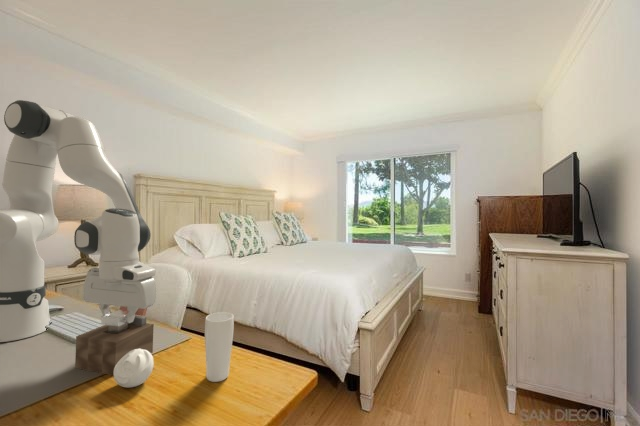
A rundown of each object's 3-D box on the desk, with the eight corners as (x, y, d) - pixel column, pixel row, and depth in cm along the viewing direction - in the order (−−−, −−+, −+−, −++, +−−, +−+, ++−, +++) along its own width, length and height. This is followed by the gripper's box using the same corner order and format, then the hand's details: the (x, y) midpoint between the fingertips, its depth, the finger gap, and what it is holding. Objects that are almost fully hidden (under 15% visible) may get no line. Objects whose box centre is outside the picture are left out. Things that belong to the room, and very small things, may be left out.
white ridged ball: (105, 392, 65) (106, 357, 65) (131, 373, 72) (132, 342, 72) (137, 396, 64) (138, 361, 63) (161, 377, 71) (162, 345, 71)
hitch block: (75, 368, 73) (76, 328, 73) (117, 346, 85) (118, 312, 85) (114, 375, 71) (116, 334, 71) (152, 352, 83) (153, 317, 83)
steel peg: (100, 350, 76) (101, 316, 76) (118, 341, 81) (118, 309, 81) (117, 353, 75) (118, 318, 75) (133, 344, 80) (134, 311, 80)
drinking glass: (204, 387, 67) (206, 323, 67) (201, 372, 73) (203, 313, 73) (234, 381, 71) (236, 319, 70) (229, 367, 77) (231, 310, 76)
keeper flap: (118, 312, 83) (121, 312, 84) (142, 315, 81) (144, 315, 82) (129, 280, 86) (131, 281, 87) (152, 282, 84) (155, 283, 85)
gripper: (76, 268, 77) (74, 321, 77) (142, 274, 73) (141, 329, 73) (98, 264, 83) (97, 312, 83) (161, 269, 79) (159, 320, 79)
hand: (118, 320), depth 78 cm, fingers closed on steel peg, 5 cm apart
